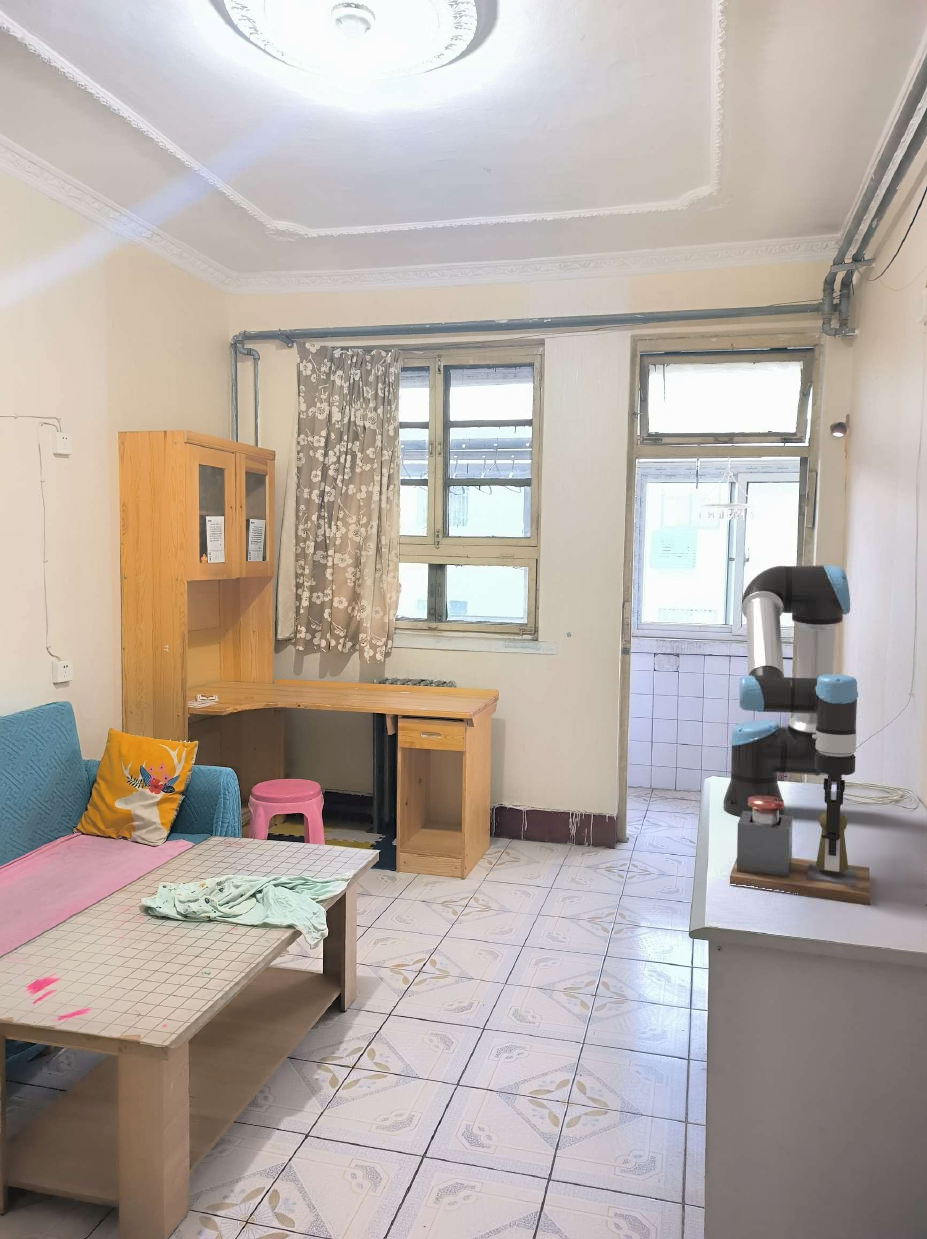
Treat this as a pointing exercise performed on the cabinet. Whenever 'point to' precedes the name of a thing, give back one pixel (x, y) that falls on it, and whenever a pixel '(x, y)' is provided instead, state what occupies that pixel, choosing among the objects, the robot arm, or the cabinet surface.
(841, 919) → the cabinet surface
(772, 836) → the grey push button box
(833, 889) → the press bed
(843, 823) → the olive knobbed peg
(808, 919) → the cabinet surface
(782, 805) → the press plunger
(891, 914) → the cabinet surface
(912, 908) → the cabinet surface
